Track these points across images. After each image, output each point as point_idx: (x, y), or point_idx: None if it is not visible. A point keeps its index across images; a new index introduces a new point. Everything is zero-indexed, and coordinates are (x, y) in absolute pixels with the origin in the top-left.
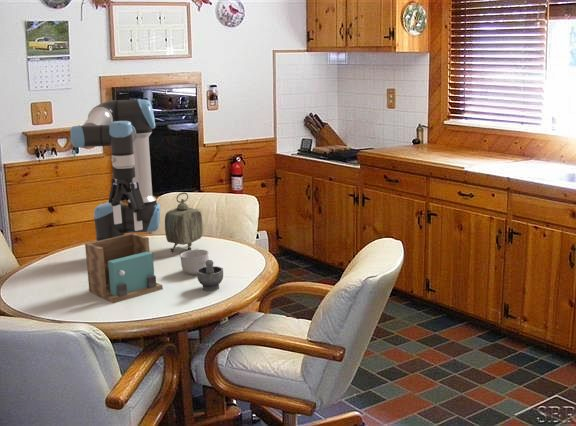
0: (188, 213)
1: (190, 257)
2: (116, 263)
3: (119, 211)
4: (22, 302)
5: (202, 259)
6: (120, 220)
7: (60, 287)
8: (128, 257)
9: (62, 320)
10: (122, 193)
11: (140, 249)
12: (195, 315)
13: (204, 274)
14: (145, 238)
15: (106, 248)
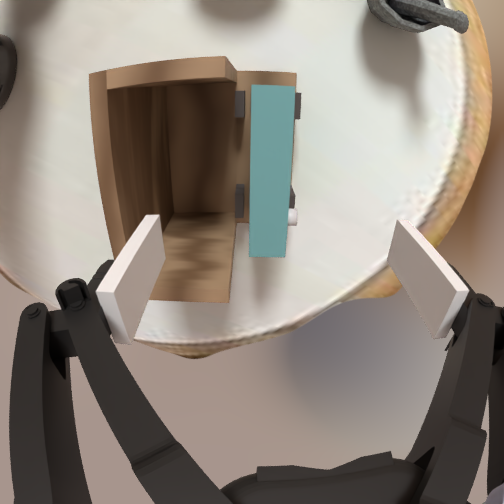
0: None
1: None
2: (285, 244)
3: (135, 272)
4: (146, 325)
5: None
6: (155, 233)
7: (98, 246)
8: (267, 185)
9: (290, 323)
10: (171, 437)
11: (185, 81)
12: (475, 158)
13: (428, 29)
14: (225, 74)
15: (134, 212)
